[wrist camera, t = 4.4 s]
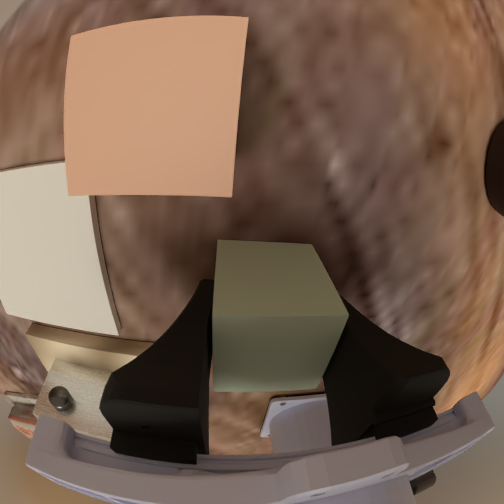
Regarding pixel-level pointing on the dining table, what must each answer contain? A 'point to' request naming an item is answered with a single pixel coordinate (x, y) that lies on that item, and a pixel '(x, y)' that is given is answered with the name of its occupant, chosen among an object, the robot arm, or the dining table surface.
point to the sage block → (272, 317)
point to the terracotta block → (154, 107)
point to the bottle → (496, 170)
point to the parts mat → (52, 252)
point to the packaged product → (23, 412)
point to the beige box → (82, 348)
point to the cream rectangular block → (75, 397)
